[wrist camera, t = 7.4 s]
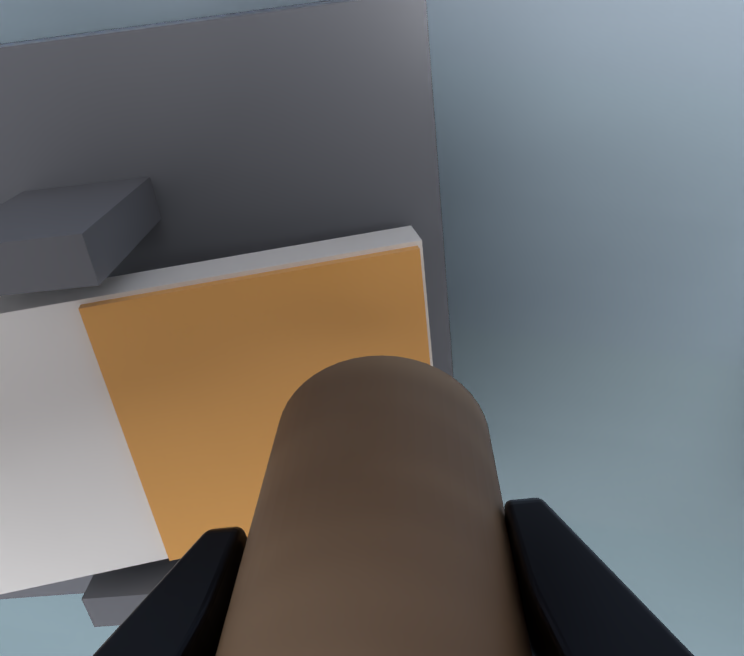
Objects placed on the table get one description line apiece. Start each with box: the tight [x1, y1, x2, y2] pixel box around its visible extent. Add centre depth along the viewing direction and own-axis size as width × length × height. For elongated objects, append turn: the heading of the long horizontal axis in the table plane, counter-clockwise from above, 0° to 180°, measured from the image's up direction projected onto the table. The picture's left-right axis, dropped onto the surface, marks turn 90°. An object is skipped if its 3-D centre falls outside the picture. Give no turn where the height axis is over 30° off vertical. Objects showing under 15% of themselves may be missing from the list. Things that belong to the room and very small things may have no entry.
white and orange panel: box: [0, 225, 433, 594], centre depth 15 cm, size 15×7×1 cm, turn 97°
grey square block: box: [0, 0, 453, 627], centre depth 17 cm, size 16×16×8 cm
